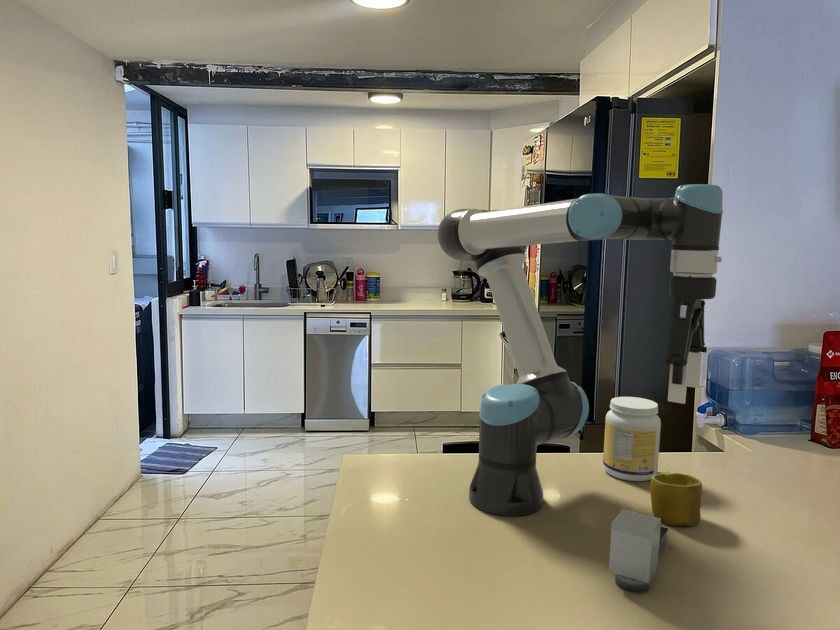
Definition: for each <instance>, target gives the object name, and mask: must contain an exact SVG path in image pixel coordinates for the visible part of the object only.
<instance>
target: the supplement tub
mask: <svg viewBox="0 0 840 630" xmlns="http://www.w3.org/2000/svg"><path fill="white" fill-rule="evenodd" d="M658 405H659V404H658V403H657V402H655V401H654V400H651V399H647V398H643V397H637V396H616V397H613V398H611V400H610V404H609V409H610V410H608V411H607V413H606V415H605V418H604V420H605V422H604V423H605V424H604V425H605V426H604V439H603V440H604V441H603V453H602V454H603V459H602V467H603V469H604V471H605V472H606V473H607V474H608V475H611V476H612V477H614V478H617V479H618V480H619V479H620V480H624V481H629V482H647V481H651V477H652V476H653V475H656V474H658V471H659V470H658V469H659V458H660V457H659V455H660V454H659V453H660V444H661V443H660V441H661V429H662V428H661V427H662V422H661V421H662V420H661V418H660V417H659V415H658V413H659V406H658Z"/></svg>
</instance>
